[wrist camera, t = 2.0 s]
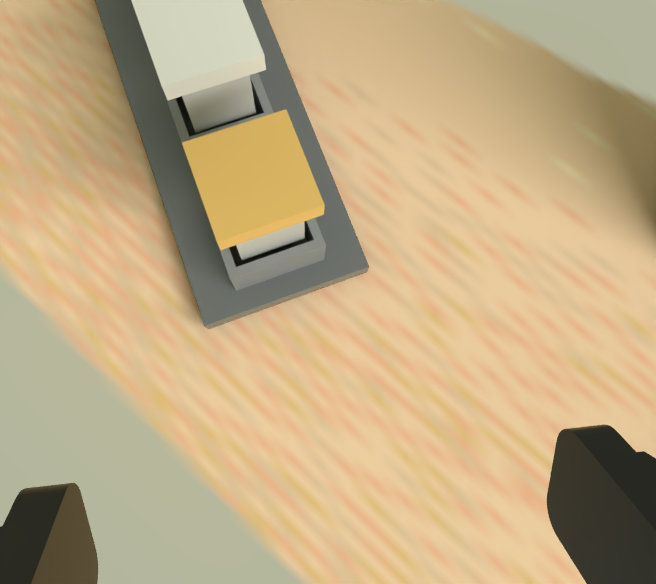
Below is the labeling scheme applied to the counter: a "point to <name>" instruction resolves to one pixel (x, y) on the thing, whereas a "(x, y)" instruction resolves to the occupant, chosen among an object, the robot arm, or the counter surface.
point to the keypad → (184, 198)
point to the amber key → (255, 184)
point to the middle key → (203, 56)
